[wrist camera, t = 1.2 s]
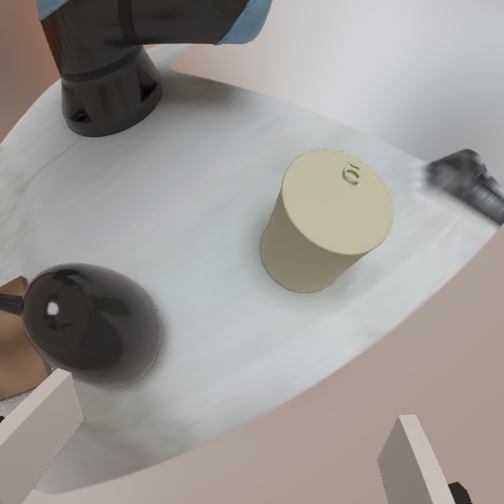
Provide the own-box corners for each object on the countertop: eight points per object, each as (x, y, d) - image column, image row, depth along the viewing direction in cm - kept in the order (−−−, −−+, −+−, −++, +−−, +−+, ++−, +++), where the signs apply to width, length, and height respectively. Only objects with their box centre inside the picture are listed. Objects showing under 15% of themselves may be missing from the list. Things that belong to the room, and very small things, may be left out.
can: (353, 236, 34) (406, 180, 23) (324, 308, 31) (380, 275, 20) (282, 198, 35) (309, 127, 24) (244, 267, 32) (260, 212, 21)
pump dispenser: (78, 280, 29) (-3, 218, 15) (171, 287, 30) (134, 220, 16) (70, 376, 26) (-28, 374, 11) (166, 390, 27) (117, 415, 12)
